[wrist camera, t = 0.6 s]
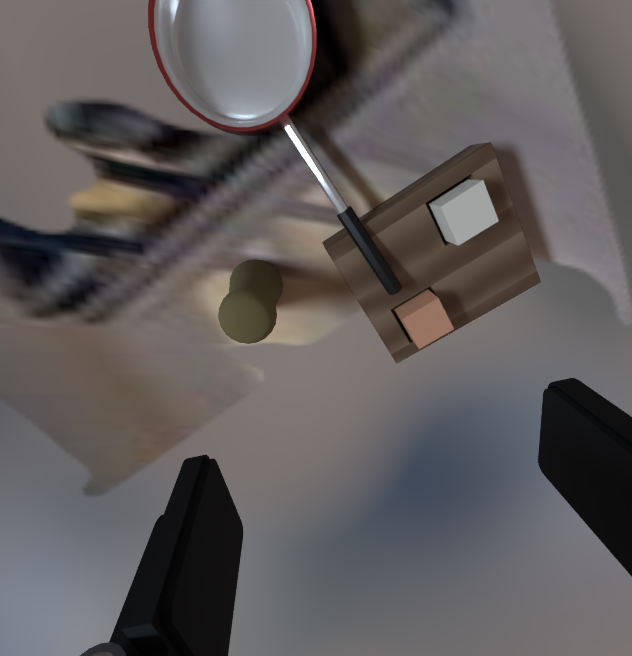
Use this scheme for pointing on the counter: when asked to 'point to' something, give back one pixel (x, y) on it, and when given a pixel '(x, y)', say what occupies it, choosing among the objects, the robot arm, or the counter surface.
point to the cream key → (464, 211)
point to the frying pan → (250, 79)
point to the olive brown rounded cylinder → (251, 302)
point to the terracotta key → (424, 318)
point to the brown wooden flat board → (438, 252)
